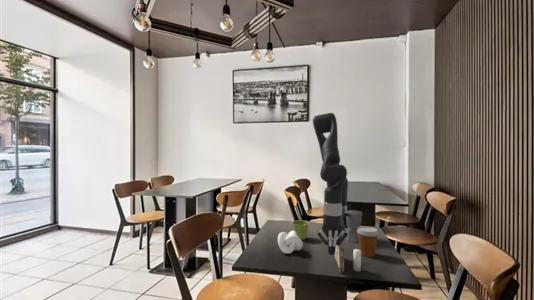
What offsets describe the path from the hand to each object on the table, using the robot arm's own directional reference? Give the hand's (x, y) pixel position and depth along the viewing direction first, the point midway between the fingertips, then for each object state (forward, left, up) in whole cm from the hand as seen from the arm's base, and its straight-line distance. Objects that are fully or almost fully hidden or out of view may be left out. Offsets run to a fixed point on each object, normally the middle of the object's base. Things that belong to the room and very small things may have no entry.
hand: (331, 254), depth 120 cm
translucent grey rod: (-11, +7, -6) cm, 14 cm away
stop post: (+3, +10, -6) cm, 12 cm away
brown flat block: (-2, +4, -5) cm, 7 cm away
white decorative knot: (-23, -12, -6) cm, 27 cm away
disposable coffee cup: (-11, +23, -6) cm, 26 cm away
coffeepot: (-31, +26, -6) cm, 41 cm away
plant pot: (-40, 0, -6) cm, 41 cm away
